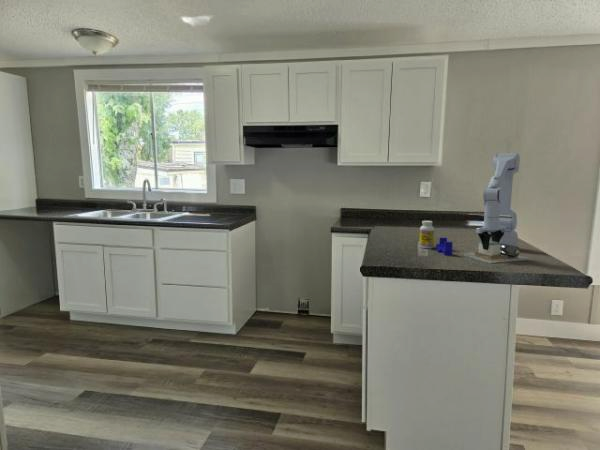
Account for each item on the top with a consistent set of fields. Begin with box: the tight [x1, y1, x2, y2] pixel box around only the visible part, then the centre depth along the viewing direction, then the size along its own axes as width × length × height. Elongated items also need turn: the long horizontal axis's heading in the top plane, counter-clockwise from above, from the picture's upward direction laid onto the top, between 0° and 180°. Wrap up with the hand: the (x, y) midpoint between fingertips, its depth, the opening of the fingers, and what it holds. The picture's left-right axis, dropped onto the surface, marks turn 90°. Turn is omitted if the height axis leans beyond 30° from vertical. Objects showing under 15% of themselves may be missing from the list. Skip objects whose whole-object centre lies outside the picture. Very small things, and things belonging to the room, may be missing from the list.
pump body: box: [477, 240, 500, 256], centre depth 168 cm, size 4×7×5 cm, turn 21°
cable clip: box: [435, 237, 453, 256], centre depth 181 cm, size 12×4×6 cm, turn 172°
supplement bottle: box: [418, 220, 435, 249], centre depth 192 cm, size 7×7×13 cm
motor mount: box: [463, 243, 528, 264], centre depth 169 cm, size 18×16×5 cm
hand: (490, 248), depth 168 cm, fingers closed on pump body, 4 cm apart
